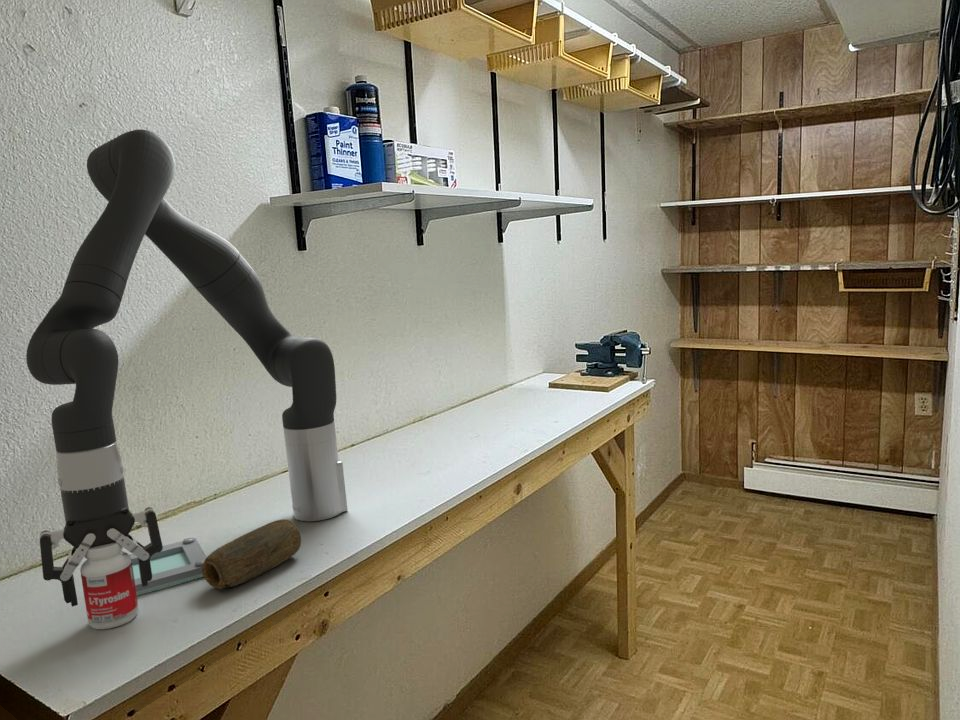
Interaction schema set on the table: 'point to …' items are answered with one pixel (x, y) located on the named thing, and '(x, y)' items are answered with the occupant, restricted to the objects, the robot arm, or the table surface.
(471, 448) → the table surface
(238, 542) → the brown textured cylinder
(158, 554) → the base plate
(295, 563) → the table surface
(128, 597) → the pill bottle
